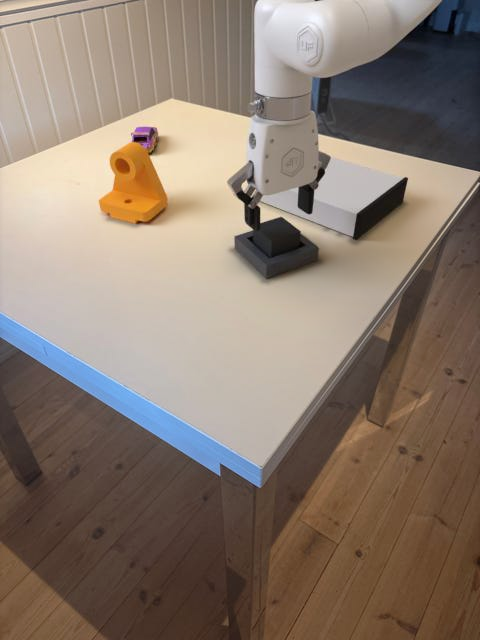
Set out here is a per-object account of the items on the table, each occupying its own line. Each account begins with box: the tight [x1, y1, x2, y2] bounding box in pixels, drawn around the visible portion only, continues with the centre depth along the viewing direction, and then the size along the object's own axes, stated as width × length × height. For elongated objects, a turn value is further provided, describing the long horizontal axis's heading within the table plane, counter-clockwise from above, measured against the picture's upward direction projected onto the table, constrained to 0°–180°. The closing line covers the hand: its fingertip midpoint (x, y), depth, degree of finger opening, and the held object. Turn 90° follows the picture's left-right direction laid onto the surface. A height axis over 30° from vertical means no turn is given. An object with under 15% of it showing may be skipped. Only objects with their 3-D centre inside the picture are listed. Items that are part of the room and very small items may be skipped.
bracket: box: [98, 141, 169, 224], centre depth 88 cm, size 11×7×12 cm, turn 65°
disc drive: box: [259, 155, 409, 241], centre depth 93 cm, size 18×22×5 cm
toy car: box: [130, 126, 159, 154], centre depth 115 cm, size 6×12×5 cm, turn 179°
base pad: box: [233, 229, 320, 280], centre depth 80 cm, size 10×10×2 cm
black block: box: [252, 216, 302, 259], centre depth 79 cm, size 6×6×4 cm
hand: (279, 219), depth 76 cm, fingers open, 9 cm apart
